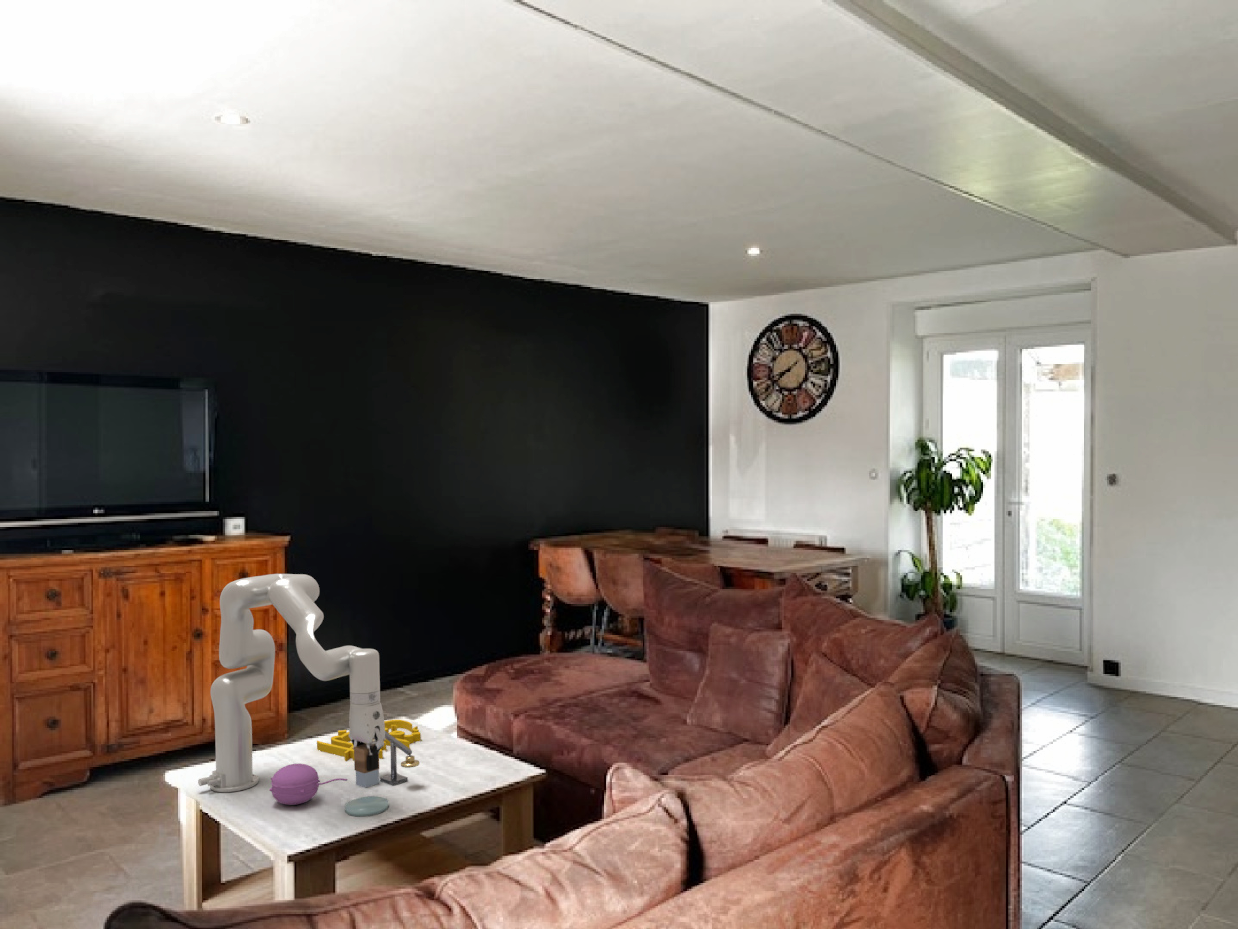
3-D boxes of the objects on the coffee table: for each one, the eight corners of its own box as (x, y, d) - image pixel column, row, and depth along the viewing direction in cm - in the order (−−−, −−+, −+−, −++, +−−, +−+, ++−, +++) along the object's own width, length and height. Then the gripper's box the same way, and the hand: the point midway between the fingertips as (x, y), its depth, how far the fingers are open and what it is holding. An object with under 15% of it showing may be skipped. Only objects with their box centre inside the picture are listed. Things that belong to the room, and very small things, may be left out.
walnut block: (364, 773, 240) (363, 750, 240) (354, 770, 242) (353, 747, 242) (379, 769, 243) (378, 746, 243) (369, 765, 246) (368, 743, 246)
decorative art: (387, 716, 323) (446, 730, 304) (387, 724, 323) (447, 739, 304) (301, 740, 296) (361, 757, 277) (302, 749, 296) (361, 767, 277)
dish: (360, 820, 235) (360, 815, 235) (336, 809, 242) (336, 805, 242) (397, 807, 243) (397, 802, 243) (372, 797, 251) (372, 793, 251)
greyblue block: (365, 788, 258) (364, 766, 258) (355, 784, 261) (355, 763, 261) (379, 783, 262) (378, 762, 262) (369, 780, 265) (369, 759, 265)
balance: (408, 791, 255) (407, 740, 255) (365, 776, 268) (364, 727, 268) (423, 786, 259) (422, 736, 259) (380, 771, 272) (379, 723, 272)
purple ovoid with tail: (287, 793, 255) (286, 757, 255) (349, 797, 251) (349, 760, 251) (261, 809, 243) (261, 771, 243) (326, 814, 239) (326, 775, 239)
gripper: (396, 699, 240) (398, 770, 240) (359, 690, 251) (360, 758, 251) (371, 705, 234) (373, 778, 234) (334, 695, 245) (336, 765, 245)
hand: (366, 766), depth 243 cm, fingers closed on walnut block, 4 cm apart
